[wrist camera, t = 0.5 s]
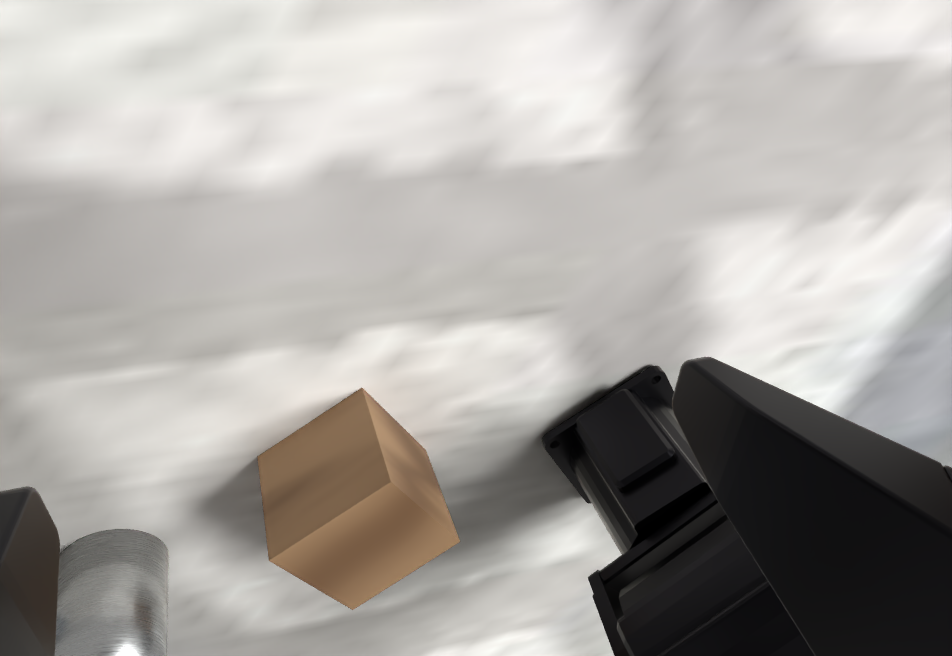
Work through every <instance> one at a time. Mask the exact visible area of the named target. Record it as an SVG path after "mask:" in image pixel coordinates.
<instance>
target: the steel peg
mask: <svg viewBox="0 0 952 656" xmlns="http://www.w3.org/2000/svg"><path fill="white" fill-rule="evenodd" d="M168 581H169V552H168V549H167V547H166V545H165V544H164V543H163V542H162V541H161V540H160V539H158V538H157V537H155V536H153V535H151V534H149V533H146V532H142V531H138V530H130V529H114V530H106V531H101V532H97V533H93V534H90V535H88V536H85V537H83V538H81V539H79V540H77V541H75V542H74V543H72V544H71V545H70V546H68V547H67V548H66V549H65V550H64V551H63V553H62V554H61V555H60V557H59V578H58V600H57V623H56V645H55V656H167V633H168Z"/></svg>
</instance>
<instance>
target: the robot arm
mask: <svg viewBox="0 0 952 656" xmlns="http://www.w3.org/2000/svg"><path fill="white" fill-rule="evenodd" d="M542 444H543V446H544V448H545V450H546V451H547V452H548V454H549V455H550V456H551V457H552V459H553V460H554V461H555V463H556V464H557V465H558V466H559V468H560V469H561V470H562V472H563V473H564V474H565V475H566V477H567V478H568V479H569V481H570V482H571V483H572V484H573V486H574V487H575V488H576V490H577V491H578V492H579V493H580V495H581V496H582V497H583V499H584V500H585V501H586V502H587V503H592V505H593V506H594V508H595V510H596V511H597V513H598V515H599V517H600V518H601V520H602V522H603V523H604V525H605V527H606V528H607V530H608V532H609V534H610V535H611V537H612V539H613V540H614V542H615V544H616V546H617V547H618V549H619V551H620V552H621V554H622V555H621V556H620V557H618V558H617V559H616V560H614V561H613V562H612V563H610V564H609V565H607V566H606V567H605V568H603V569H602V570H601V571H599V570H597V571H596V572H594V573H593V574H591V575H590V576H589V577H588V580H589V582H590V585H591V588H592V590H593V593H594V595H593V599H594V602H595V604H596V607H597V610H598V612H599V615H600V618H601V620H602V623H603V626H604V629H605V631H606V634H607V637H608V639H609V642H610V645H611V647H612V650H613V653H614V655H615V656H952V468H951V467H949V466H942V464H941V463H940V462H938V461H936V460H933V459H931V458H929V457H927V456H925V455H922V454H920V453H918V452H916V451H914V450H912V449H909V448H907V447H905V446H903V445H901V444H899V443H896V442H894V441H892V440H890V439H888V438H886V437H883V436H881V435H879V434H877V433H875V432H873V431H870V430H868V429H866V428H864V427H862V426H859V425H857V424H855V423H853V422H851V421H849V420H846V419H844V418H842V417H840V416H838V415H836V414H833V413H831V412H829V411H827V410H825V409H823V408H820V407H818V406H816V405H814V404H812V403H810V402H807V401H805V400H803V399H801V398H799V397H796V396H794V395H792V394H790V393H788V392H786V391H783V390H781V389H779V388H777V387H775V386H773V385H770V384H768V383H766V382H764V381H762V380H760V379H757V378H755V377H753V376H751V375H749V374H747V373H744V372H742V371H740V370H738V369H736V368H733V367H731V366H729V365H727V364H725V363H723V362H720V361H718V360H716V359H714V358H711V357H702V358H697V359H691V360H687V361H685V362H684V364H683V365H682V366H681V369H680V372H679V376H678V380H677V383H676V387H675V391H673V389H672V387H671V385H670V383H669V380H668V378H667V376H666V374H665V373H664V372H663V370H662V369H661V368H660V367H659V366H652V367H650V368H648V369H646V370H645V371H643V372H642V373H640V374H639V375H637V376H635V377H634V378H632V379H631V380H629V381H628V382H626V383H625V384H623V385H621V386H620V387H618V388H617V389H615V390H614V391H612V392H611V393H609V394H607V395H606V396H604V397H603V398H601V399H600V400H598V401H596V402H595V403H593V404H592V405H590V406H589V407H587V408H586V409H584V410H582V411H581V412H579V413H578V414H576V415H575V416H573V417H572V418H570V419H568V420H567V421H565V422H564V423H562V424H561V425H559V426H557V427H556V428H554V429H553V430H551V431H550V432H548V433H547V434H546V435H544V437H543V438H542ZM59 555H60V541H59V535H58V531H57V528H56V526H55V524H54V522H53V520H52V518H51V516H50V514H49V512H48V510H47V508H46V506H45V504H44V502H43V500H42V498H41V496H40V494H39V493H38V491H37V490H36V489H34V488H33V487H22V488H16V489H11V490H6V491H1V492H0V656H55V645H56V623H57V600H58V578H59Z"/></svg>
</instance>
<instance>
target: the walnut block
mask: <svg viewBox="0 0 952 656" xmlns="http://www.w3.org/2000/svg"><path fill="white" fill-rule="evenodd" d="M258 466H259V475H260V484H261V493H262V502H263V511H264V520H265V529H266V538H267V548H268V557H269V561H270V562H272V563H274V564H275V565H277V566H279V567H281V568H282V569H284V570H286V571H287V572H289V573H291V574H292V575H294V576H296V577H298V578H299V579H301V580H303V581H304V582H306V583H308V584H309V585H311V586H313V587H315V588H316V589H318V590H320V591H321V592H323V593H325V594H326V595H328V596H330V597H331V598H333V599H335V600H337V601H338V602H340V603H342V604H343V605H345V606H347V607H348V608H350V609H352V610H353V609H355V608H357V607H358V606H360V605H361V604H363V603H364V602H366V601H368V600H369V599H371V598H372V597H374V596H375V595H377V594H379V593H380V592H382V591H383V590H385V589H387V588H388V587H390V586H391V585H393V584H394V583H396V582H398V581H399V580H401V579H402V578H404V577H405V576H407V575H409V574H410V573H412V572H413V571H415V570H416V569H418V568H420V567H421V566H423V565H424V564H426V563H427V562H429V561H431V560H432V559H434V558H435V557H437V556H438V555H440V554H442V553H443V552H445V551H446V550H448V549H450V548H451V547H453V546H454V545H456V544H457V543H459V542H460V540H459V537H458V535H457V532H456V529H455V527H454V524H453V521H452V519H451V516H450V513H449V511H448V508H447V505H446V503H445V500H444V497H443V495H442V492H441V489H440V487H439V484H438V481H437V479H436V476H435V473H434V471H433V468H432V465H431V463H430V460H429V457H428V455H427V452H426V450H425V449H424V448H423V447H422V446H421V445H420V444H419V443H418V442H417V441H416V440H415V439H414V438H413V437H412V436H411V435H410V434H409V433H408V432H407V431H406V430H405V429H404V428H403V427H402V426H401V425H400V424H399V423H398V422H397V421H396V420H395V419H394V418H393V417H392V416H391V415H390V414H389V413H387V412H386V411H385V410H384V409H383V408H382V407H381V406H380V405H379V404H378V403H377V402H376V401H375V400H374V399H373V398H372V397H371V396H370V395H369V394H368V393H367V392H366V391H365V390H364V389H363V388H361V389H359V390H358V391H356V392H355V393H353V394H352V395H350V396H349V397H347V398H346V399H344V400H343V401H341V402H340V403H338V404H337V405H335V406H334V407H332V408H331V409H329V410H328V411H326V412H324V413H323V414H321V415H320V416H318V417H317V418H315V419H314V420H312V421H311V422H309V423H308V424H306V425H305V426H303V427H302V428H300V429H299V430H297V431H296V432H294V433H293V434H291V435H290V436H288V437H287V438H285V439H284V440H282V441H280V442H279V443H277V444H276V445H274V446H273V447H271V448H270V449H268V450H267V451H265V452H264V453H262V454H261V455H259V456H258Z"/></svg>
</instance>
